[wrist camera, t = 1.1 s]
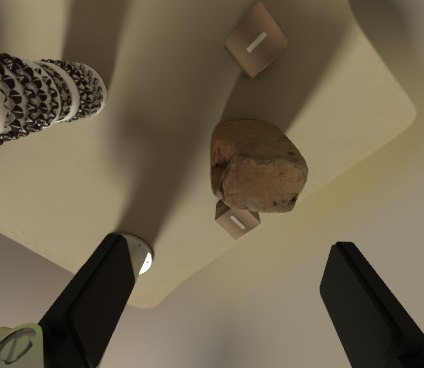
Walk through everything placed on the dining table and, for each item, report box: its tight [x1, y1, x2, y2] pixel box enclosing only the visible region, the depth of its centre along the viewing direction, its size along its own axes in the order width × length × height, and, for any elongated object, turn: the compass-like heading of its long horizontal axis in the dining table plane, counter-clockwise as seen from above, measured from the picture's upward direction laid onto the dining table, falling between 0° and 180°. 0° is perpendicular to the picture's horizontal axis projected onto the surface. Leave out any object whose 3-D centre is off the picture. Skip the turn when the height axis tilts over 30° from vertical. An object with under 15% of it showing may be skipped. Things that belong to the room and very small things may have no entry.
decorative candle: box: [0, 53, 107, 145], centre depth 27 cm, size 9×9×25 cm
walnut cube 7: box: [224, 1, 289, 79], centre depth 31 cm, size 6×6×6 cm
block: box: [210, 119, 308, 213], centre depth 31 cm, size 11×8×20 cm
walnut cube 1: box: [215, 200, 261, 240], centre depth 43 cm, size 6×6×6 cm
